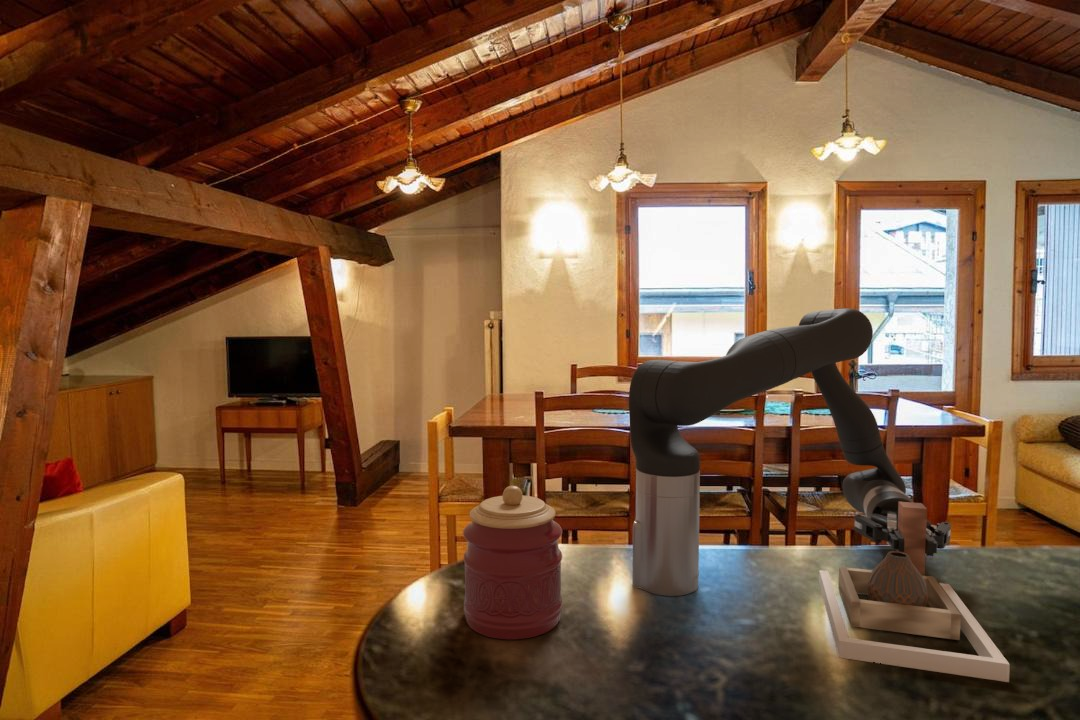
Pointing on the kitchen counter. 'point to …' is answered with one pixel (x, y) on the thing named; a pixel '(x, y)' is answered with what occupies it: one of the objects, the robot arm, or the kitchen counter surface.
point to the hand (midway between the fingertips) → (916, 547)
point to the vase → (897, 581)
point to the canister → (512, 567)
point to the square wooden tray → (898, 617)
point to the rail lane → (981, 666)
